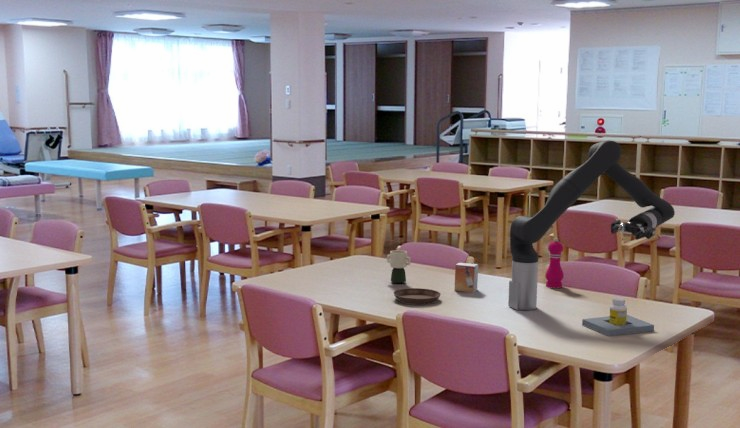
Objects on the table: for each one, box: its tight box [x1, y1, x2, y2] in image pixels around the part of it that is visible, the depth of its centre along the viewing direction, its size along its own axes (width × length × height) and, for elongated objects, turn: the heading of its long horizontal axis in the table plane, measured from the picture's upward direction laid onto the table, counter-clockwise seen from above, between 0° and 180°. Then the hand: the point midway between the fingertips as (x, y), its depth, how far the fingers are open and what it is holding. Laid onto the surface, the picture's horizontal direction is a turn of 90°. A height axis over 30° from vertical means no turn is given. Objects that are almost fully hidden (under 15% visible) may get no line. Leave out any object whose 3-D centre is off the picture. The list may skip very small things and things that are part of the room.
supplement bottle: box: [609, 297, 628, 326], centre depth 271 cm, size 5×5×10 cm
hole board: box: [581, 314, 655, 337], centre depth 272 cm, size 18×14×2 cm
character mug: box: [386, 249, 412, 284], centre depth 335 cm, size 11×7×13 cm, turn 59°
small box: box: [454, 262, 479, 293], centre depth 323 cm, size 8×6×10 cm
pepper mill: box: [544, 237, 564, 289], centre depth 330 cm, size 7×7×20 cm
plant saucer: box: [393, 287, 442, 306], centre depth 307 cm, size 18×18×3 cm
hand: (624, 234), depth 282 cm, fingers open, 8 cm apart
